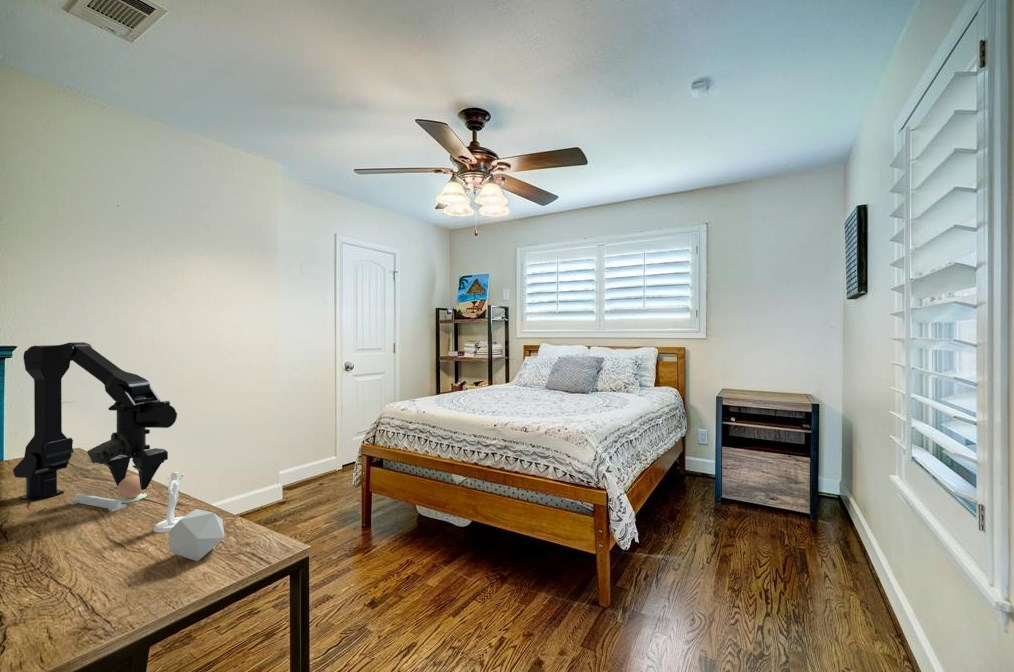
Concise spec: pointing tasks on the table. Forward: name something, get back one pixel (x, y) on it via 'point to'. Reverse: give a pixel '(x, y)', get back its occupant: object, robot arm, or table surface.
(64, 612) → the table surface
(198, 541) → the die
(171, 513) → the figurine
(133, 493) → the ball
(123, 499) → the felt coaster
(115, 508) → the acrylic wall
